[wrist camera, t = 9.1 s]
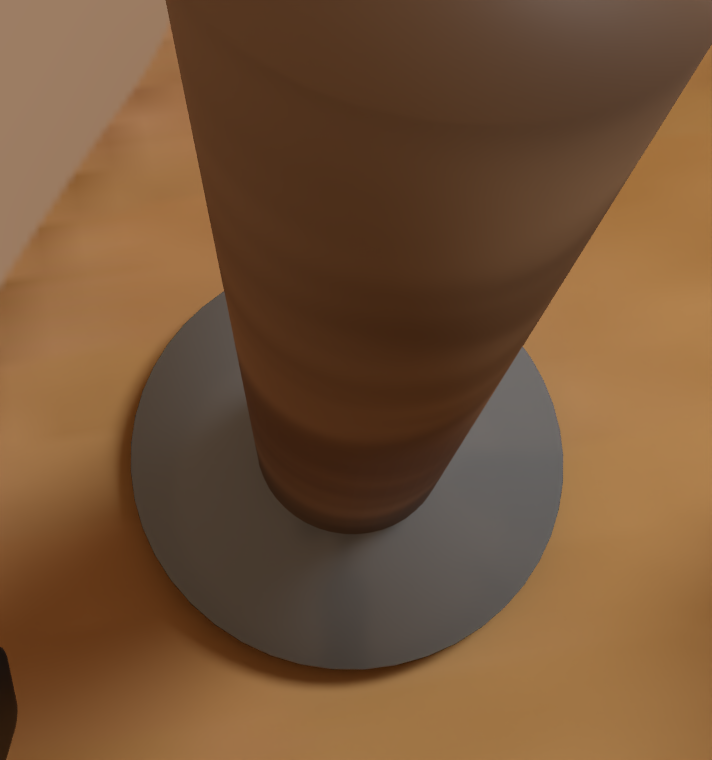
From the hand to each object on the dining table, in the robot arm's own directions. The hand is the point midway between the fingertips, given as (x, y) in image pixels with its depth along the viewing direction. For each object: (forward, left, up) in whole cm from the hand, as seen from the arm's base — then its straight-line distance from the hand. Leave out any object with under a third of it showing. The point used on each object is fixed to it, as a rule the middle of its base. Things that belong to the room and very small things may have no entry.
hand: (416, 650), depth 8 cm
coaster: (+4, +4, -9) cm, 10 cm away
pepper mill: (+4, +4, -8) cm, 10 cm away
